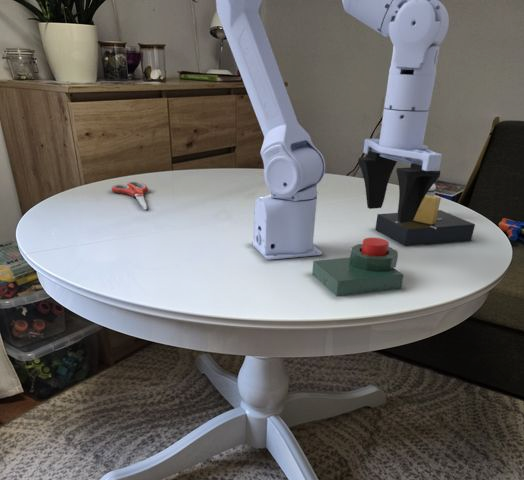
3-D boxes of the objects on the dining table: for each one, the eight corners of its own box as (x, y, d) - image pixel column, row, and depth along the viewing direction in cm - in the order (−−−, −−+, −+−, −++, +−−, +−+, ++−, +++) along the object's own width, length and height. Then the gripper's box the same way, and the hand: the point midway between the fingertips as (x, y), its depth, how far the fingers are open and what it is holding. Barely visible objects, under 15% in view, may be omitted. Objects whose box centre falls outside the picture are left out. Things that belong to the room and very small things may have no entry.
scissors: (144, 210, 98) (143, 203, 97) (108, 190, 113) (107, 183, 112) (178, 206, 102) (177, 199, 101) (139, 186, 117) (138, 180, 116)
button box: (336, 296, 64) (339, 268, 62) (311, 274, 71) (313, 247, 69) (408, 288, 68) (414, 260, 66) (378, 267, 74) (382, 242, 72)
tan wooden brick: (435, 223, 86) (441, 195, 83) (431, 225, 84) (437, 197, 82) (407, 216, 89) (412, 190, 86) (403, 218, 88) (407, 191, 85)
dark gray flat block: (407, 248, 83) (410, 230, 81) (375, 229, 91) (377, 213, 90) (474, 242, 87) (478, 224, 85) (437, 225, 96) (440, 209, 94)
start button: (369, 258, 67) (371, 246, 66) (356, 250, 70) (358, 238, 69) (391, 256, 68) (393, 244, 67) (378, 248, 71) (380, 236, 70)
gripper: (470, 114, 58) (445, 226, 65) (398, 105, 70) (383, 200, 77) (423, 114, 56) (402, 230, 63) (356, 104, 67) (345, 203, 74)
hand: (389, 214), depth 70 cm, fingers open, 7 cm apart
